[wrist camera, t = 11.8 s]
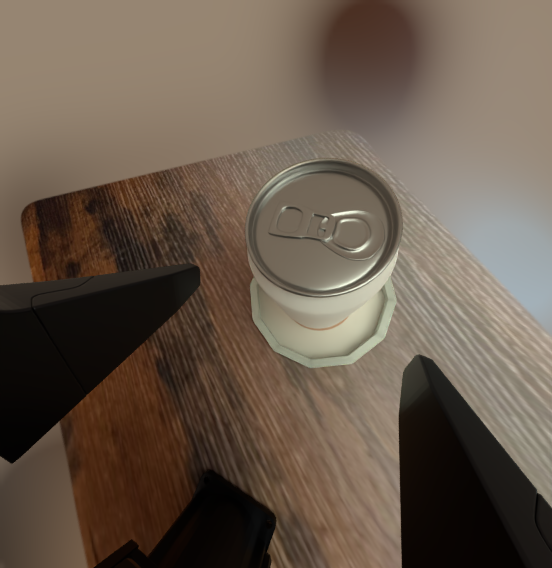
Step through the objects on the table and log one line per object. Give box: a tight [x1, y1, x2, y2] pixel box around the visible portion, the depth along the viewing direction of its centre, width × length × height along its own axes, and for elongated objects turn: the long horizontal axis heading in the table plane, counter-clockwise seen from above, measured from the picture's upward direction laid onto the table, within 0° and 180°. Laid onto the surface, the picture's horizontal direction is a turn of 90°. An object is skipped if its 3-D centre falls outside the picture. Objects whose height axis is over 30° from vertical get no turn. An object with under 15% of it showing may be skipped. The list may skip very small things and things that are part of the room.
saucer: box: [250, 277, 397, 368], centre depth 19 cm, size 12×12×1 cm
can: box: [245, 158, 403, 329], centre depth 13 cm, size 6×6×12 cm
